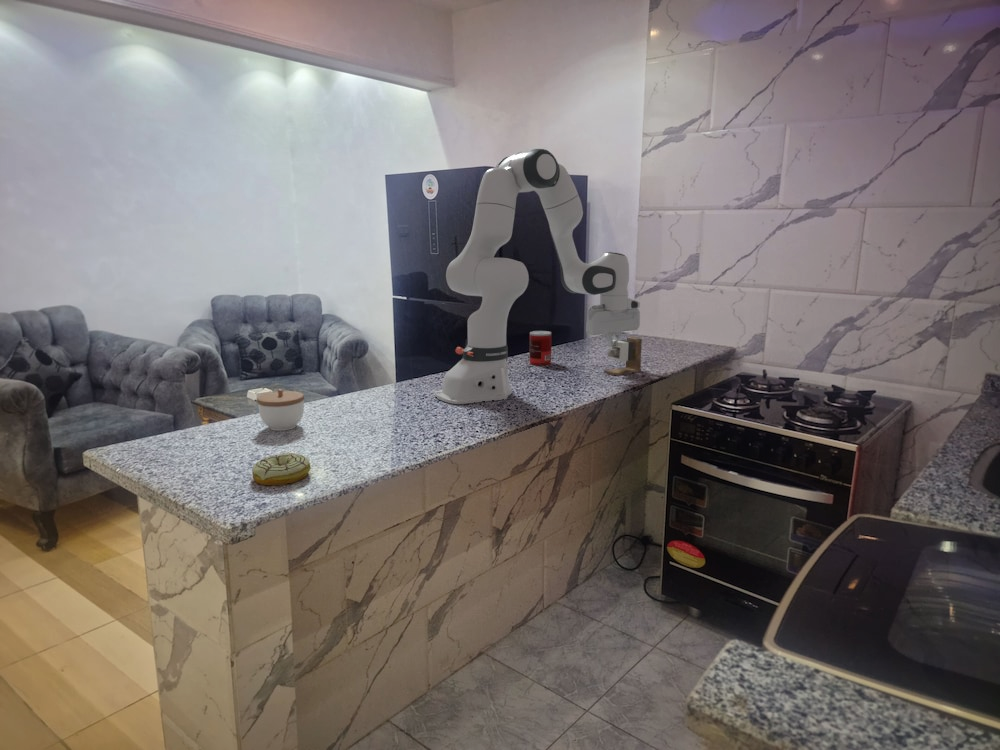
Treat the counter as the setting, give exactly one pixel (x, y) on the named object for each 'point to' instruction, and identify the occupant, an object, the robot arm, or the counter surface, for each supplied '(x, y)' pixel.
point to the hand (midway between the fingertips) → (612, 346)
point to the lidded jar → (281, 409)
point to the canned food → (540, 347)
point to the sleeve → (621, 351)
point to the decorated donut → (281, 469)
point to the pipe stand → (632, 364)
